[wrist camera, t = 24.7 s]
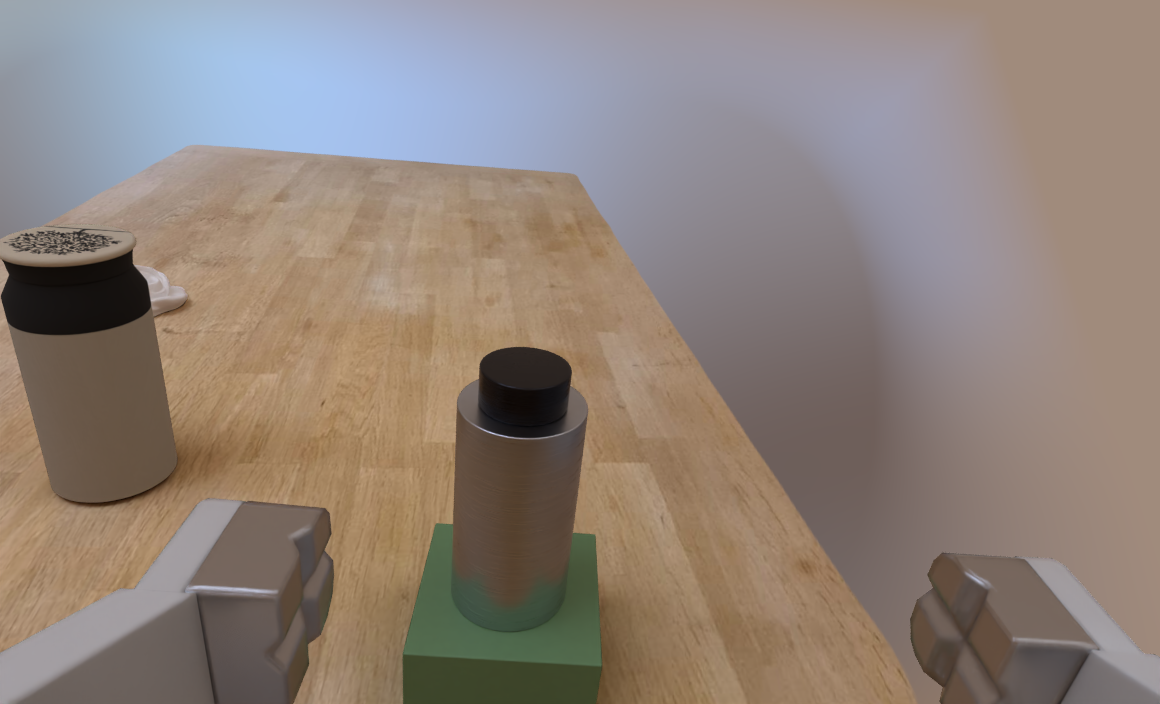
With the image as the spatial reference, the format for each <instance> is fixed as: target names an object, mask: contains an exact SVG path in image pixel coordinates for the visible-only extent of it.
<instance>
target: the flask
mask: <svg viewBox="0 0 1160 704" xmlns="http://www.w3.org/2000/svg"><path fill="white" fill-rule="evenodd" d="M571 375H572V370H571V367H570V365H569V363H568V362H567V361H566V360H565V359H563V358H562V357H560V356H558V355H556V354H554V353H552V352H549V351H546V350H542V349H537V348H529V347H511V348H504V349H500V350H496V351H493V352H491V353H489V354H488V355H486V356H485V357H484V358H483V359H482V360H481V363H480V368H479V379H478V380H476V381H474V382H472V383H470V384H469V385H467V386H466V387H465V388H464V389H463V390H462V391H461V393H460V394H459V397H458V399H457V417H456V448H455V480H454V511H453V543H452V574H451V594H452V598H453V601H454V603H455V605H456V606H457V608H458V610H459V611H460V612H461V613H462V614H463V615H464V616H465V617H466V618H467V619H469V620H470V621H472V622H473V623H475V624H477V625H479V626H481V627H484V628H487V629H491V630H495V631H503V632H515V631H523V630H528V629H531V628H534V627H537V626H539V625H541V624H543V623H545V622H546V621H548V620H549V619H550V618H552V617H553V616H554V615H555V614H556V613H557V612H558V610H559V609H560V607H561V605H562V603H563V601H564V598H565V593H566V584H567V576H568V568H569V560H570V552H571V544H572V536H573V528H574V520H575V512H576V504H577V496H578V488H579V480H580V472H581V464H582V456H583V448H584V440H585V432H586V424H587V416H588V406H587V403H586V400H585V399H584V397H583V396H582V395H581V394H580V393H579V392H578V391H577V390H576V389H574V388H573V387H571V386H570V384H571Z"/></svg>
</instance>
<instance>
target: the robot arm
mask: <svg viewBox="0 0 1160 704" xmlns="http://www.w3.org/2000/svg"><path fill="white" fill-rule="evenodd" d="M331 534H332V533H331V523H330V513H329V512H328V511H327V510H326V509H325V508H318V507H307V506H297V505H286V504H276V503H265V502H254V501H247V502H245V501H238V500H226V499H215V498H207V499H205V500H203V501H201V502H199V503H198V504H197V505H196V506H195V508H194V509H193V510H192V512H191V513H190V514H189V516H188V517H187V518H186V520H185V521H184V522H183V524H182V525H181V526H180V528H179V529H178V530H177V532H176V533H175V534H174V536H173V537H172V538H171V540H170V541H169V542H168V544H167V545H166V546H165V548H164V549H163V550H162V552H161V553H160V554H159V556H158V557H157V558H156V560H155V561H154V562H153V564H152V565H151V566H150V568H149V569H148V570H147V572H146V573H145V574H144V576H143V577H142V578H141V580H140V581H139V582H138V584H137V585H136V586H135V588H134V589H122V588H120V589H119V590H117V591H115V592H113V593H111V594H109V595H107V596H105V597H104V598H102V599H100V600H98V601H96V602H94V603H92V604H90V605H89V606H87V607H85V608H83V609H81V610H79V611H77V612H76V613H74V614H72V615H70V616H68V617H66V618H64V619H62V620H61V621H59V622H57V623H55V624H53V625H51V626H49V627H47V628H46V629H44V630H42V631H40V632H38V633H36V634H34V635H33V636H31V637H29V638H27V639H25V640H23V641H21V642H19V643H18V644H16V645H14V646H12V647H10V648H8V649H6V650H4V651H3V652H1V653H0V704H293V703H294V701H295V698H296V696H297V693H298V691H299V688H300V686H301V683H302V681H303V678H304V676H305V673H306V671H307V668H308V666H309V657H308V644H309V643H310V642H312V641H313V640H314V639H316V638H317V637H318V636H320V635H321V632H322V630H323V627H324V624H325V622H326V619H327V616H328V612H329V607H330V603H331V598H332V594H333V580H334V567H333V560H332V559H331V558H330V556H329V555H328V554H327V553H326V552H325V551H324V550H325V548H326V545H327V543H328V541H329V538H330V536H331ZM928 577H929V580H930V582H931V584H932V586H933V588H932V589H931V590H930V591H928V592H927V593H926V594H924V595H923V596H922V597H920V598H919V599H918V600H917V602H916V605H915V607H914V610H913V613H912V616H911V619H910V623H911V642H912V646H913V649H914V653H915V656H916V658H917V660H918V662H919V664H920V666H921V667H922V670H923V672H925V673H926V674H927V675H928V676H930V677H931V678H932V679H934V680H935V681H936V682H937V683H938V684H940V685H941V686H942V687H943V688H942V692H941V697H940V703H941V704H1160V657H1159V656H1157V655H1155V654H1144V653H1143V652H1142V651H1141V650H1140V649H1139V648H1138V646H1137V645H1136V644H1135V643H1134V642H1133V641H1132V640H1131V639H1130V638H1129V636H1128V635H1127V634H1126V633H1125V632H1124V631H1123V630H1122V629H1121V628H1120V627H1119V625H1118V624H1117V623H1116V622H1115V621H1114V620H1113V619H1112V617H1111V616H1110V615H1109V614H1108V613H1107V612H1106V611H1105V610H1104V609H1103V607H1102V606H1101V605H1100V604H1099V603H1098V602H1097V601H1096V600H1095V599H1094V597H1093V596H1091V594H1090V593H1089V592H1088V591H1087V590H1086V589H1085V588H1084V586H1083V585H1082V584H1081V583H1080V582H1079V581H1078V580H1077V579H1076V577H1075V576H1074V575H1073V574H1072V573H1071V572H1070V571H1069V570H1068V569H1067V567H1066V566H1065V565H1063V564H1062V563H1059V562H1058V561H1056V560H1054V559H1052V558H1038V557H1017V556H1015V557H1001V556H987V555H971V554H956V553H941V554H940V555H939V556H938V557H937V558H936V559H935V560H934V561H933V563H932V566H931V568H930V570H929V572H928Z"/></svg>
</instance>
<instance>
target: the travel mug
mask: <svg viewBox="0 0 1160 704" xmlns="http://www.w3.org/2000/svg"><path fill="white" fill-rule="evenodd" d="M135 245H136V238H135V236H134V235H133V234H132V233H130V232H128V231H126V230H124V229H121V228H117V227H112V226H105V225H95V224H65V225H53V226H44V227H38V228H33V229H27V230H23V231H19V232H16V233H13V234H10V235H8V236H5V237H3V238H2V239H0V259H2V261H3V262H4V264H5V267H6V269H7V271H8V273H9V277H8V279H7V282H6V284H5V287H4V289H3V292H2V294H1V299H2V303H3V307H4V311H5V314H6V318H7V322H8V326H9V329H10V333H11V337H12V341H13V344H14V348H15V352H16V356H17V359H18V363H19V367H20V371H21V374H22V378H23V382H24V386H25V390H26V393H27V397H28V401H29V405H30V408H31V412H32V416H33V420H34V423H35V427H36V431H37V435H38V438H39V442H40V446H41V450H42V453H43V457H44V461H45V465H46V468H47V472H48V476H49V480H50V484H51V487H52V489H53V491H54V492H55V493H56V494H57V495H59V496H61V497H63V498H65V499H68V500H72V501H77V502H88V503H94V502H107V501H113V500H118V499H123V498H126V497H130V496H133V495H136V494H139V493H141V492H144V491H146V490H148V489H150V488H152V487H154V486H156V485H157V484H159V483H160V482H162V481H163V480H164V479H166V478H167V477H168V476H169V475H170V474H171V473H172V472H173V470H174V469H175V467H176V464H177V453H176V447H175V441H174V435H173V429H172V423H171V418H170V412H169V406H168V400H167V394H166V388H165V382H164V376H163V370H162V364H161V358H160V352H159V346H158V341H157V335H156V329H155V323H154V317H153V311H152V305H151V299H150V293H149V287H148V282H147V280H146V279H145V278H144V276H143V275H142V274H141V273H140V272H139V270H138V269H137V268H136V267H135V266H134V265H133V255H132V252H133V248H134V247H135Z"/></svg>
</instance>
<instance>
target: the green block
mask: <svg viewBox="0 0 1160 704" xmlns="http://www.w3.org/2000/svg"><path fill="white" fill-rule="evenodd" d="M452 543H453V524H439V523H437V524H436V525H435V529H434V533H433V537H432V541H431V545H430V549H429V552H428V556H427V560H426V564H425V568H424V572H423V576H422V580H421V584H420V588H419V592H418V596H417V600H416V603H415V607H414V611H413V615H412V619H411V623H410V627H409V631H408V635H407V639H406V643H405V647H404V650H403V704H596V701H597V695H598V689H599V682H600V676H601V670H602V652H601V633H600V613H599V594H598V575H597V555H596V536H595V535H594V534H580V533H573V536H572V544H571V552H570V560H569V568H568V576H567V584H566V593H565V598H564V601H563V603H562V605H561V607H560V609H559V610H558V612H557V613H556V614H555V615H554V616H553V617H552V618H550V619H549V620H548V621H546V622H545V623H543V624H541V625H539V626H537V627H534V628H531V629H528V630H523V631H515V632H503V631H495V630H491V629H487V628H484V627H481V626H479V625H477V624H475V623H473V622H472V621H470V620H469V619H467V618H466V617H465V616H464V615H463V614H462V613H461V612H460V611H459V610H458V608H457V606H456V605H455V603H454V601H453V598H452V594H451V574H452Z"/></svg>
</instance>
